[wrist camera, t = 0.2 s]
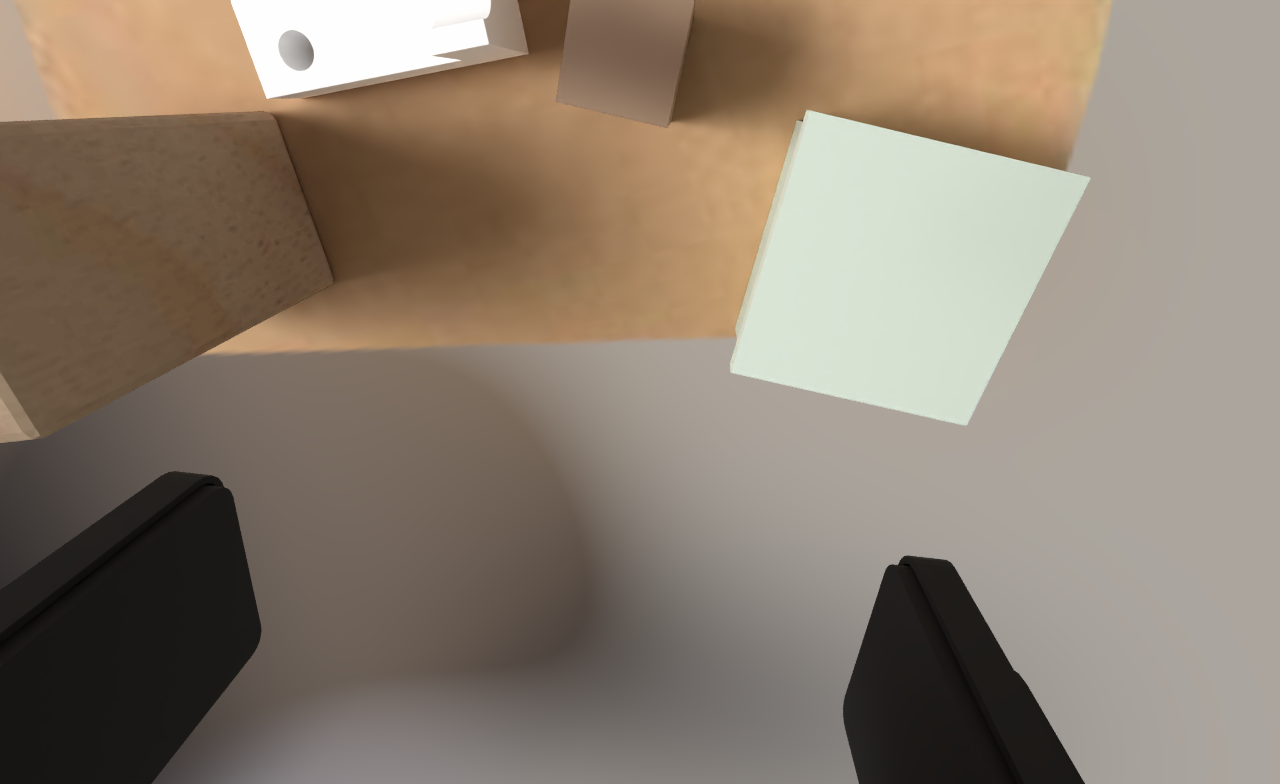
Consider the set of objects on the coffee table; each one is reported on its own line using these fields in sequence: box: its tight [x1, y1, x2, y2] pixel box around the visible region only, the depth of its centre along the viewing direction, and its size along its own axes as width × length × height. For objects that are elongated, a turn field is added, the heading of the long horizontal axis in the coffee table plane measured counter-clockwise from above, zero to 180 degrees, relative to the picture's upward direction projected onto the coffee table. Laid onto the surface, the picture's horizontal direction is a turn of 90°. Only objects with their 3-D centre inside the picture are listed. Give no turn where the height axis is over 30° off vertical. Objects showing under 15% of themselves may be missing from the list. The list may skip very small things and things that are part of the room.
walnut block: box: [556, 0, 695, 128], centre depth 30 cm, size 5×5×7 cm
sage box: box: [730, 110, 1091, 426], centre depth 34 cm, size 13×13×6 cm
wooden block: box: [0, 111, 333, 443], centre depth 29 cm, size 10×10×20 cm
